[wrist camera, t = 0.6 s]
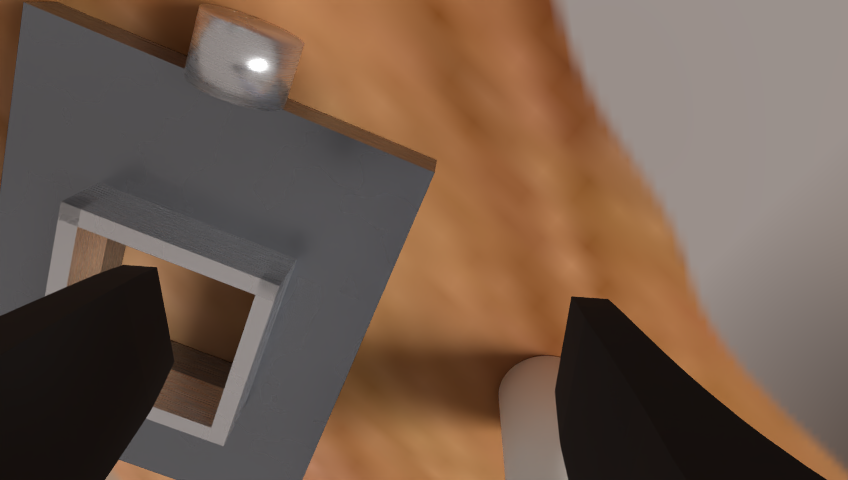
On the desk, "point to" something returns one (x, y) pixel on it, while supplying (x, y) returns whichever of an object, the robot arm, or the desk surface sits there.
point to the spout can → (531, 421)
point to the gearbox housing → (206, 218)
